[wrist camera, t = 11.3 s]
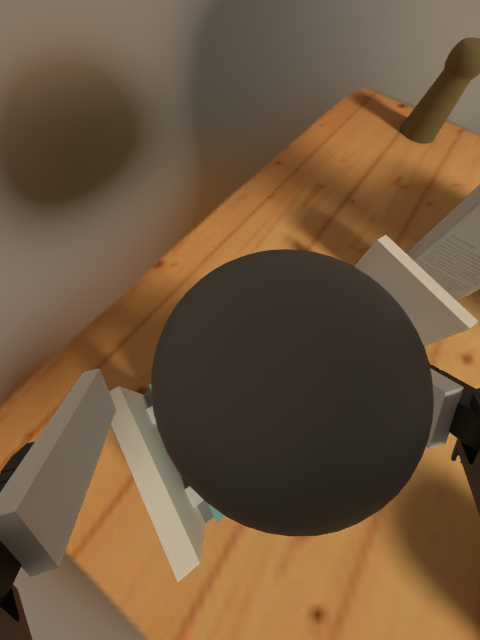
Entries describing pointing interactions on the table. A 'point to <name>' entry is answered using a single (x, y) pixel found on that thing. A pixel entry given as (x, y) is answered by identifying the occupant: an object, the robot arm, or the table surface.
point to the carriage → (292, 393)
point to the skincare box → (453, 249)
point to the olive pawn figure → (444, 92)
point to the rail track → (157, 467)
